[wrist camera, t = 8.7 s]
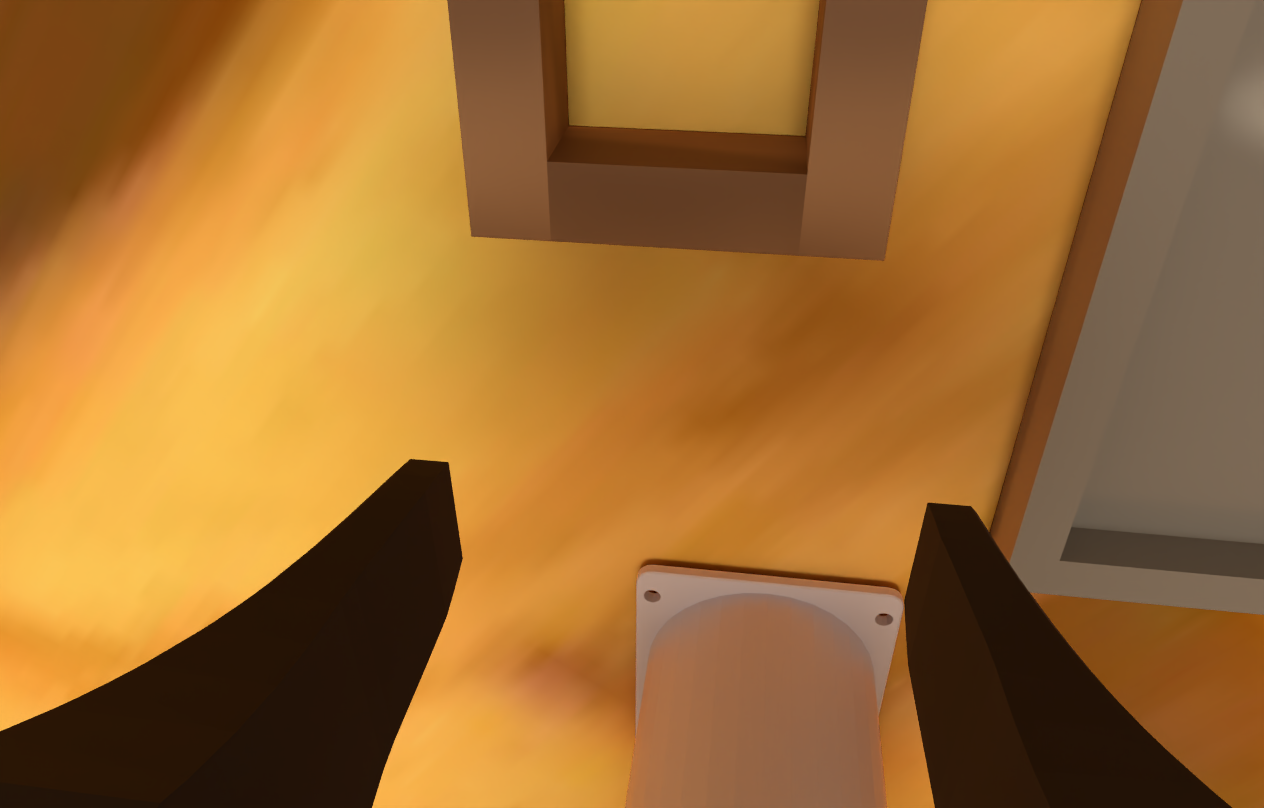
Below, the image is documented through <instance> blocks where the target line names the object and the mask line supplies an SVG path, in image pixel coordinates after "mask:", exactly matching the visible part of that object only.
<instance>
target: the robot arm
mask: <svg viewBox="0 0 1264 808" xmlns="http://www.w3.org/2000/svg"><path fill="white" fill-rule="evenodd" d="M462 559H463V557H462V551H461V544H460V537H459V530H458V524H457V517H456V510H455V503H454V497H453V490H452V483H451V476H450V470H449V463H448V462H439V461H427V460H415V459H410V460H409V461H408V462H407V463H405V464H404V465H403V466H402V467H401V468H400V469H399V470H398V471H396V472H395V473H394V474H393V475H392V476H391V477H390V478H389V479H388V480H387V481H386V482H385V483H383V484H382V485H381V486H380V487H379V488H378V489H377V490H376V491H375V492H374V493H373V494H372V495H371V496H370V497H369V498H367V499H366V500H365V501H364V502H363V503H362V504H361V505H360V506H359V507H358V508H357V509H356V510H354V511H353V512H352V513H351V514H350V515H349V516H348V517H347V518H346V519H345V520H343V521H342V522H341V523H340V524H339V525H338V526H337V527H336V528H334V529H333V530H332V531H331V532H330V533H329V534H328V535H327V536H325V537H324V538H323V539H322V540H321V541H320V542H319V543H317V544H316V545H315V546H314V547H313V548H312V549H310V550H309V551H308V552H307V553H306V554H305V555H303V556H302V557H301V558H300V559H298V560H297V561H296V562H295V563H293V564H292V565H291V566H290V567H288V568H287V569H286V570H285V571H283V572H282V573H281V574H280V575H278V576H277V577H276V578H275V579H273V580H272V581H271V582H270V583H268V584H267V585H266V586H265V587H263V588H262V589H261V590H259V591H258V592H257V593H255V594H254V595H252V596H251V597H250V598H248V599H247V600H245V601H244V602H243V603H241V604H240V605H238V606H237V607H235V608H234V609H232V610H231V611H229V612H228V613H226V614H225V615H223V616H222V617H221V618H219V619H218V620H216V621H215V622H213V623H212V624H210V625H208V626H207V627H205V628H204V629H202V630H201V631H199V632H197V633H196V634H194V635H192V636H190V637H189V638H187V639H185V640H184V641H182V642H180V643H179V644H177V645H175V646H174V647H172V648H170V649H168V650H167V651H165V652H163V653H162V654H160V655H158V656H157V657H155V658H153V659H151V660H150V661H148V662H146V663H145V664H143V665H141V666H139V667H137V668H135V669H133V670H132V671H130V672H128V673H126V674H124V675H122V676H120V677H118V678H116V679H114V680H112V681H111V682H109V683H107V684H105V685H103V686H100V687H98V688H96V689H94V690H92V691H90V692H88V693H86V694H84V695H82V696H80V697H78V698H76V699H74V700H72V701H69V702H67V703H65V704H63V705H61V706H59V707H56V708H54V709H52V710H50V711H47V712H45V713H43V714H40V715H38V716H35V717H33V718H31V719H28V720H26V721H24V722H21V723H19V724H17V725H14V726H12V727H10V728H7V729H5V730H3V731H0V808H372V805H373V802H374V799H375V796H376V792H377V789H378V786H379V783H380V780H381V776H382V773H383V770H384V767H385V764H386V762H387V759H388V756H389V754H390V751H391V748H392V746H393V743H394V740H395V738H396V736H397V733H398V731H399V729H400V726H401V724H402V722H403V719H404V717H405V714H406V712H407V710H408V707H409V705H410V703H411V700H412V698H413V696H414V693H415V691H416V689H417V686H418V684H419V682H420V679H421V677H422V675H423V672H424V670H425V668H426V665H427V663H428V660H429V658H430V656H431V653H432V651H433V648H434V646H435V644H436V641H437V639H438V636H439V634H440V632H441V629H442V627H443V624H444V622H445V619H446V617H447V614H448V610H449V607H450V603H451V600H452V596H453V593H454V589H455V585H456V582H457V578H458V574H459V570H460V566H461V563H462ZM648 590H654V591H657V592H658V593H651V592H649V591H648ZM904 604H905V623H906V640H907V655H908V666H909V672H910V677H911V683H912V688H913V694H914V699H915V704H916V710H917V715H918V721H919V726H920V731H921V736H922V741H923V747H924V752H925V757H926V762H927V768H928V773H929V778H930V783H931V789H932V794H933V799H934V804H935V808H1232V807H1231V806H1230V805H1228V804H1227V803H1226V802H1225V801H1224V800H1222V799H1221V798H1220V797H1219V796H1218V795H1216V794H1215V793H1214V792H1213V791H1212V790H1211V789H1209V788H1208V787H1207V786H1206V785H1205V784H1204V783H1203V782H1202V781H1200V780H1199V779H1198V778H1197V777H1196V776H1195V775H1194V774H1193V773H1192V772H1190V771H1189V770H1188V769H1187V768H1186V767H1185V766H1184V765H1183V764H1182V763H1180V762H1179V761H1178V760H1177V759H1176V758H1175V757H1174V756H1173V755H1171V754H1170V753H1169V752H1168V751H1167V750H1166V749H1165V748H1164V747H1163V746H1162V745H1161V744H1160V743H1159V742H1158V741H1157V740H1156V739H1154V738H1153V737H1152V736H1151V735H1150V734H1149V733H1148V732H1147V731H1146V730H1145V729H1144V728H1143V727H1142V726H1141V725H1140V724H1139V723H1138V722H1137V721H1136V720H1135V719H1134V718H1133V716H1132V715H1131V714H1130V713H1129V712H1128V711H1127V710H1126V709H1125V708H1124V707H1123V706H1122V705H1121V704H1120V703H1119V702H1118V701H1117V700H1116V699H1115V698H1114V696H1113V695H1112V694H1111V693H1110V692H1109V691H1108V690H1107V689H1106V688H1105V687H1104V685H1103V684H1102V683H1101V682H1100V681H1099V680H1098V679H1097V677H1096V676H1095V675H1094V674H1093V673H1092V672H1091V670H1090V669H1089V668H1088V667H1087V666H1086V664H1085V663H1084V662H1083V661H1082V660H1081V658H1080V657H1079V656H1078V655H1077V654H1076V652H1075V651H1074V650H1073V649H1072V648H1071V646H1070V645H1069V644H1068V643H1067V641H1066V640H1065V639H1064V638H1063V636H1062V635H1061V634H1060V632H1059V631H1058V630H1057V629H1056V627H1055V626H1054V625H1053V623H1052V622H1051V621H1050V619H1049V618H1048V617H1047V615H1046V614H1045V613H1044V611H1043V610H1042V609H1041V607H1040V606H1039V605H1038V603H1037V602H1036V601H1035V599H1034V598H1033V596H1032V595H1031V594H1030V592H1029V591H1028V590H1027V588H1026V587H1025V585H1024V584H1023V582H1022V581H1021V580H1020V578H1019V577H1018V575H1017V574H1016V572H1015V571H1014V569H1013V568H1012V566H1011V565H1010V564H1009V562H1008V561H1007V559H1006V558H1005V556H1004V555H1003V553H1002V552H1001V550H1000V549H999V547H998V546H997V544H996V542H995V541H994V539H993V538H992V536H991V535H990V533H989V532H988V530H987V528H986V527H985V525H984V524H983V522H982V521H981V519H980V517H979V516H978V514H977V513H976V512H975V510H974V509H973V508H972V507H971V506H961V505H949V504H937V503H928V504H927V508H926V512H925V516H924V520H923V525H922V529H921V533H920V537H919V541H918V545H917V550H916V554H915V558H914V562H913V566H912V570H911V575H910V579H909V583H908V587H907V591H906V596H905V600H904ZM903 609H904V606H903V597H902V595H901V593H900V592H899V591H897V590H896V589H893V588H889V587H880V586H870V585H859V584H849V583H839V582H828V581H818V580H807V579H797V578H787V577H776V576H766V575H756V574H745V573H735V572H725V571H714V570H704V569H694V568H683V567H673V566H663V565H646V566H644V567H642V568H641V569H640V570H639V572H638V576H637V581H636V740H635V746H634V753H633V759H632V765H631V772H630V778H629V785H628V791H627V797H626V804H625V808H887V802H886V792H885V781H884V771H883V760H882V750H881V740H880V729H879V719H878V717H879V713H880V708H881V704H882V700H883V695H884V691H885V687H886V682H887V678H888V674H889V669H890V665H891V661H892V656H893V652H894V648H895V643H896V639H897V635H898V630H899V626H900V622H901V618H902V613H903ZM883 613H886V614H889V615H887V616H880V615H879V614H883Z"/></svg>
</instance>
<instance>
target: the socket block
mask: <svg viewBox="0 0 1264 808" xmlns="http://www.w3.org/2000/svg"><path fill="white" fill-rule="evenodd" d="M447 1H448V10H449V20H450V30H451V40H452V50H453V59H454V69H455V79H456V89H457V99H458V109H459V118H460V128H461V138H462V148H463V158H464V167H465V177H466V187H467V197H468V207H469V216H470V226H471V236H472V237H489V238H506V239H523V240H540V241H558V242H575V243H592V244H609V245H626V246H643V247H660V248H677V249H694V250H711V251H728V252H745V253H762V254H779V255H796V256H813V257H830V258H847V259H864V260H881V261H884V259H885V253H886V247H887V241H888V235H889V229H890V223H891V217H892V211H893V205H894V199H895V193H896V187H897V181H898V175H899V169H900V163H901V157H902V151H903V145H904V139H905V133H906V127H907V121H908V115H909V109H910V103H911V97H912V91H913V85H914V79H915V73H916V67H917V61H918V55H919V48H920V42H921V36H922V30H923V24H924V18H925V12H926V6H927V0H820V4H819V13H818V23H817V32H816V42H815V51H814V60H813V70H812V79H811V89H810V98H809V108H808V117H807V126H806V136H784V135H761V134H739V133H717V132H694V131H672V130H649V129H627V128H605V127H582V126H569V122H568V95H567V67H566V40H565V13H564V0H447Z"/></svg>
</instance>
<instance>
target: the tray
mask: <svg viewBox="0 0 1264 808" xmlns="http://www.w3.org/2000/svg"><path fill="white" fill-rule="evenodd" d="M990 535H991V536H992V538H993V539H994V541H995V542H996V544H997V546H998V547H999V549H1000V550H1001V552H1002V553H1003V555H1004V556H1005V558H1006V559H1007V561H1008V562H1009V564H1010V565H1011V566H1012V568H1013V569H1014V571H1015V572H1016V574H1017V575H1018V577H1019V578H1020V580H1021V581H1022V582H1023V584H1024V585H1025V587H1026V588H1027V590H1028V591H1029V592H1031V593H1042V594H1052V595H1063V596H1073V597H1084V598H1094V599H1105V600H1115V601H1126V602H1136V603H1146V604H1157V605H1167V606H1178V607H1188V608H1199V609H1209V610H1220V611H1230V612H1241V613H1251V614H1262V615H1264V0H1142V2H1141V6H1140V9H1139V13H1138V16H1137V20H1136V23H1135V27H1134V30H1133V34H1132V37H1131V41H1130V44H1129V48H1128V51H1127V55H1126V58H1125V62H1124V65H1123V69H1122V72H1121V76H1120V79H1119V83H1118V86H1117V90H1116V93H1115V97H1114V100H1113V104H1112V107H1111V111H1110V114H1109V118H1108V121H1107V125H1106V128H1105V132H1104V135H1103V139H1102V142H1101V146H1100V149H1099V153H1098V156H1097V160H1096V163H1095V167H1094V170H1093V174H1092V177H1091V181H1090V184H1089V188H1088V191H1087V195H1086V198H1085V202H1084V205H1083V209H1082V212H1081V216H1080V219H1079V223H1078V226H1077V230H1076V233H1075V237H1074V240H1073V244H1072V247H1071V251H1070V254H1069V258H1068V261H1067V265H1066V268H1065V272H1064V275H1063V279H1062V282H1061V286H1060V289H1059V293H1058V296H1057V300H1056V303H1055V307H1054V310H1053V314H1052V317H1051V321H1050V324H1049V328H1048V331H1047V335H1046V338H1045V342H1044V345H1043V348H1042V352H1041V355H1040V359H1039V362H1038V366H1037V369H1036V373H1035V376H1034V380H1033V383H1032V387H1031V390H1030V394H1029V397H1028V401H1027V404H1026V408H1025V411H1024V415H1023V418H1022V422H1021V425H1020V429H1019V432H1018V436H1017V439H1016V443H1015V446H1014V450H1013V453H1012V457H1011V460H1010V464H1009V467H1008V471H1007V474H1006V478H1005V481H1004V485H1003V488H1002V492H1001V495H1000V499H999V502H998V506H997V509H996V513H995V516H994V520H993V523H992V527H991V530H990Z"/></svg>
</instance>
